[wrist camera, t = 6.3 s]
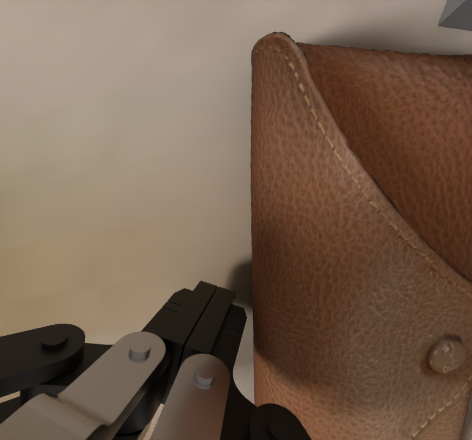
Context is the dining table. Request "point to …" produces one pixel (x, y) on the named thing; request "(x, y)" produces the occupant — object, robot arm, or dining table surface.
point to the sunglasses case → (362, 239)
